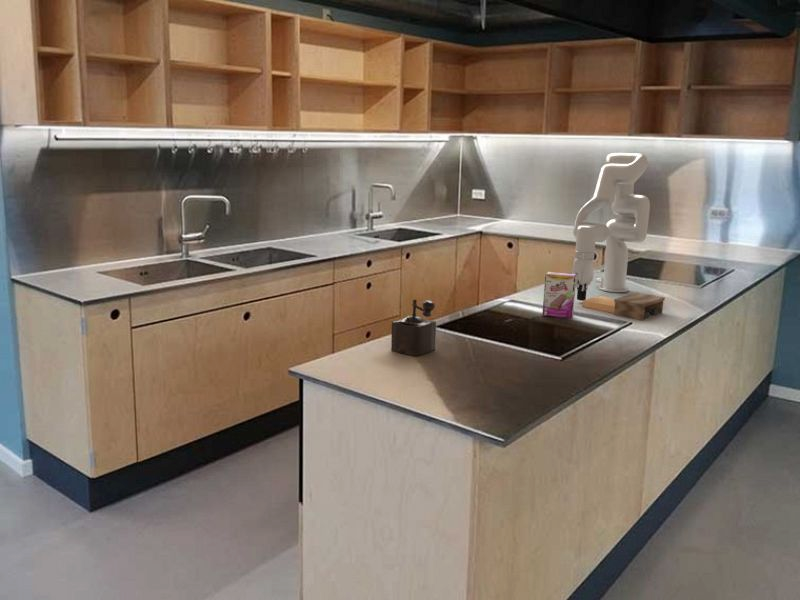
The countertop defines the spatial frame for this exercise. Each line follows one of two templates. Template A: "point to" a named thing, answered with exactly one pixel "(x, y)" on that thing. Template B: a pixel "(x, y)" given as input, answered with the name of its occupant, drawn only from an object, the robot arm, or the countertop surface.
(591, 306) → the orange cover
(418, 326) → the black manual coffee grinder
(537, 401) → the countertop surface
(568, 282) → the candy bar box
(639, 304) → the walnut shelf
